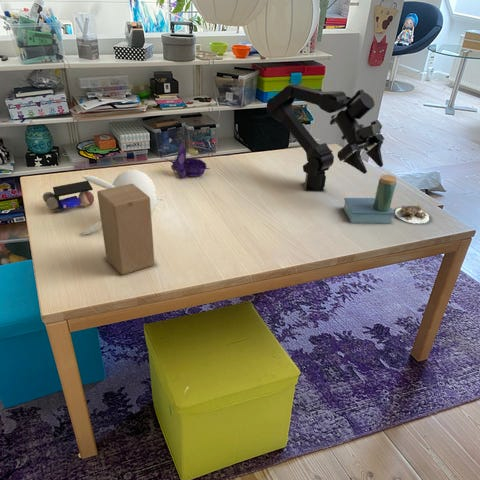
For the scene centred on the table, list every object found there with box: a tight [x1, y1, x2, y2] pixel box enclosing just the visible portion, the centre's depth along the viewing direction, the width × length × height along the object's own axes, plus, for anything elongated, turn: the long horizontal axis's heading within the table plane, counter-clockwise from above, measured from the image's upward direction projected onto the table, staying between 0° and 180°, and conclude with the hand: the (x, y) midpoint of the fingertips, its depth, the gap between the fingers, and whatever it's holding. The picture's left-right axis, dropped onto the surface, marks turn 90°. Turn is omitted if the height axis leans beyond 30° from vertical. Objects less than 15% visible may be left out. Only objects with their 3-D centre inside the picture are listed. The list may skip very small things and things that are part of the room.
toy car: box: [42, 180, 95, 213], centre depth 159 cm, size 7×8×15 cm
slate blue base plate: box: [343, 197, 395, 224], centre depth 165 cm, size 14×11×4 cm
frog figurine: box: [394, 204, 430, 225], centre depth 166 cm, size 12×12×4 cm
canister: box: [373, 174, 397, 212], centre depth 159 cm, size 5×5×10 cm
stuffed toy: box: [81, 169, 163, 236], centre depth 148 cm, size 19×14×25 cm
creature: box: [163, 139, 211, 179], centre depth 183 cm, size 9×18×12 cm, turn 108°
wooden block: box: [97, 184, 156, 276], centre depth 130 cm, size 10×10×20 cm
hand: (373, 169), depth 162 cm, fingers open, 9 cm apart
